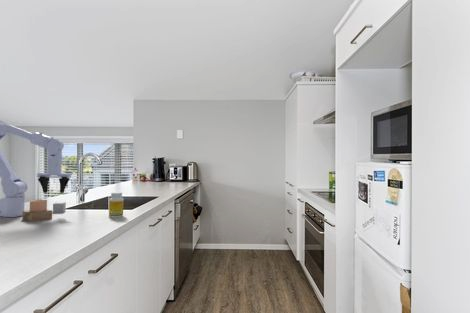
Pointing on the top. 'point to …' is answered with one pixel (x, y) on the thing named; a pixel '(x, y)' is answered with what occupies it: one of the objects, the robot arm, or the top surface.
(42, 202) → the terracotta cube
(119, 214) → the supplement bottle
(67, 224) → the top surface
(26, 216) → the walnut block
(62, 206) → the grey cube
